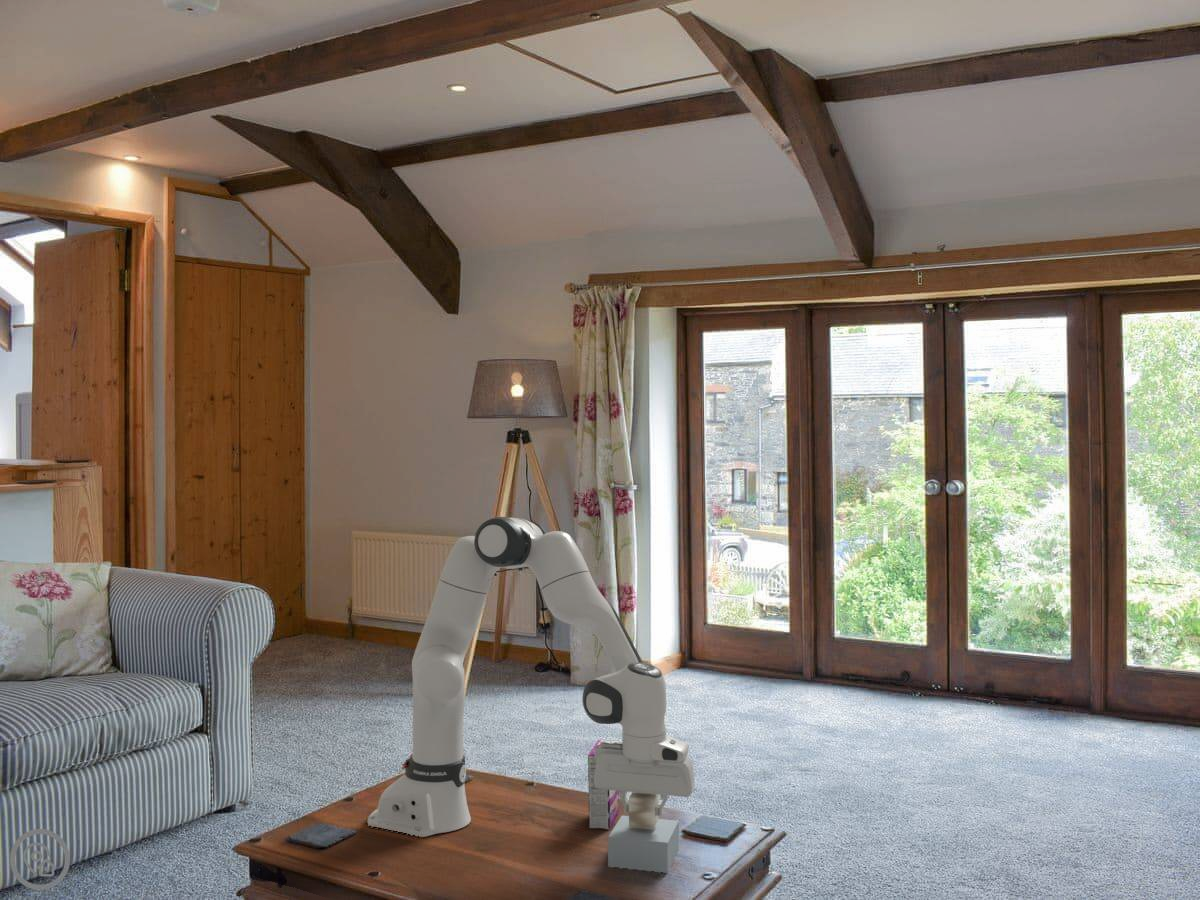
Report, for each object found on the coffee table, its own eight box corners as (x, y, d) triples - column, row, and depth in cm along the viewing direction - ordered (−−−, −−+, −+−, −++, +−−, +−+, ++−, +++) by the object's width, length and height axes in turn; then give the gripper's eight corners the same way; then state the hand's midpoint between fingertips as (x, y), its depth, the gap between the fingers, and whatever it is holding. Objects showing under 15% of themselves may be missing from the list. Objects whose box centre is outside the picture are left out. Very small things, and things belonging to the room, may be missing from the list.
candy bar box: (597, 810, 246) (597, 738, 246) (619, 812, 245) (619, 740, 245) (587, 828, 235) (587, 753, 235) (609, 830, 234) (609, 755, 234)
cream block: (628, 827, 217) (628, 797, 217) (634, 818, 222) (634, 789, 222) (653, 829, 216) (653, 799, 216) (658, 820, 221) (658, 791, 221)
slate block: (608, 866, 215) (608, 836, 215) (621, 843, 227) (622, 815, 227) (667, 873, 212) (667, 842, 212) (678, 849, 224) (678, 820, 224)
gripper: (590, 746, 218) (590, 814, 219) (690, 754, 213) (690, 823, 214) (598, 737, 224) (597, 803, 225) (696, 744, 219) (695, 812, 220)
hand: (643, 813), depth 219 cm, fingers closed on cream block, 5 cm apart
